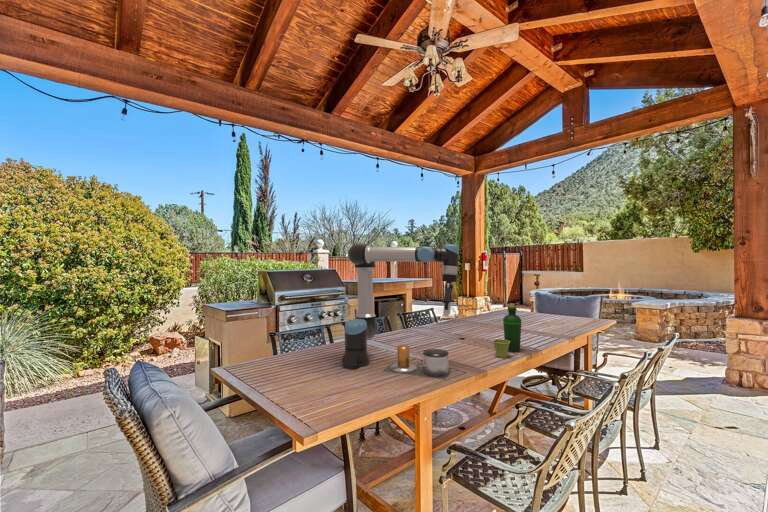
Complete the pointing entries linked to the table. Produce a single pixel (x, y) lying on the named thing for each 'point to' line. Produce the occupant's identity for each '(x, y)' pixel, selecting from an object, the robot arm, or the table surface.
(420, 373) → the stove mat
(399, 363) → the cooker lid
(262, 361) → the table surface
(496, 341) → the plant pot
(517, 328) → the bottle
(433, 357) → the cylinder
